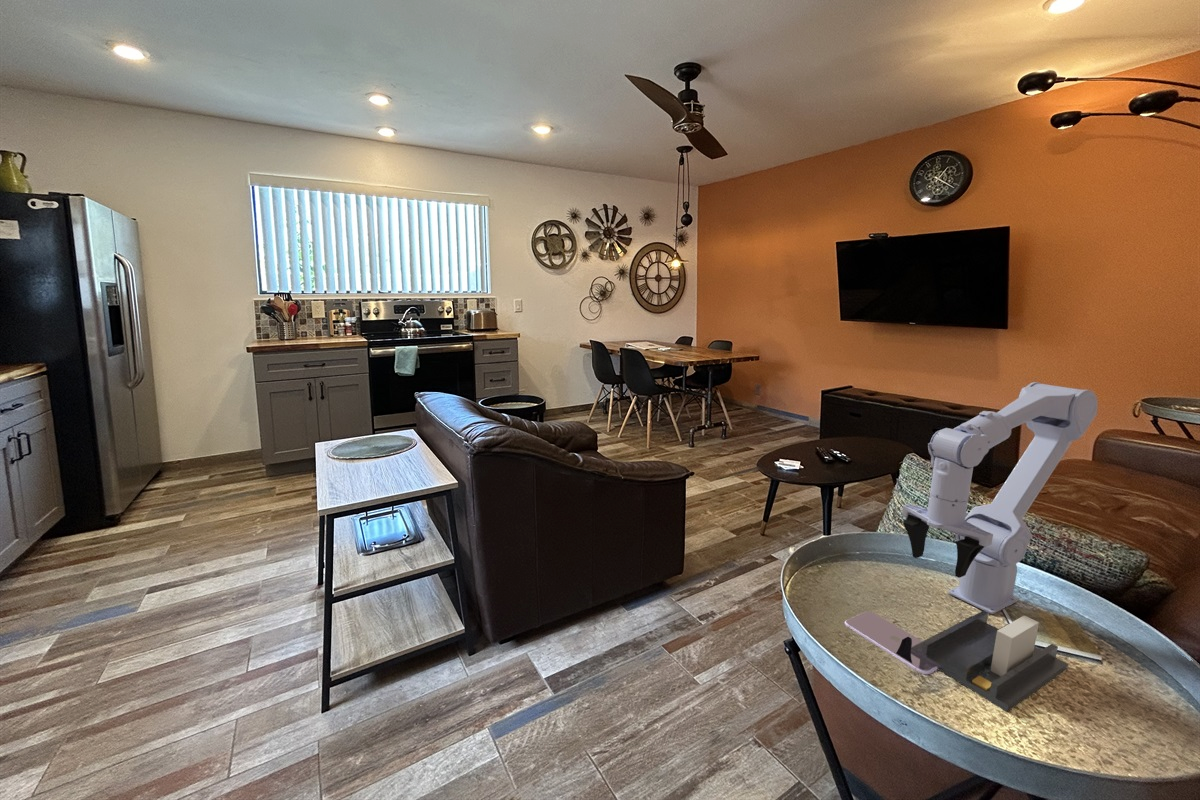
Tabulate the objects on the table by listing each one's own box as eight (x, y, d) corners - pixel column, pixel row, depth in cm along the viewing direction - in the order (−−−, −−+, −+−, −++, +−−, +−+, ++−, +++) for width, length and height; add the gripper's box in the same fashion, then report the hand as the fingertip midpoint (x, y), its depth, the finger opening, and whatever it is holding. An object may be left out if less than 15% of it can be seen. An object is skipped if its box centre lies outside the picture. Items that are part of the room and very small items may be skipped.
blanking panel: (1017, 653, 84) (1024, 615, 83) (1031, 661, 82) (1039, 622, 81) (990, 670, 80) (997, 630, 79) (1005, 678, 79) (1012, 638, 77)
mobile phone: (869, 608, 97) (953, 657, 84) (868, 612, 97) (952, 662, 84) (841, 620, 94) (925, 673, 81) (841, 625, 94) (924, 678, 81)
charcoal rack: (971, 620, 94) (973, 605, 93) (1067, 669, 82) (1070, 652, 81) (910, 652, 86) (912, 636, 85) (1007, 711, 74) (1010, 693, 73)
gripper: (895, 486, 97) (887, 553, 99) (981, 515, 84) (968, 590, 87) (918, 480, 100) (909, 545, 103) (1004, 507, 87) (991, 580, 90)
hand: (938, 565), depth 95 cm, fingers open, 7 cm apart
